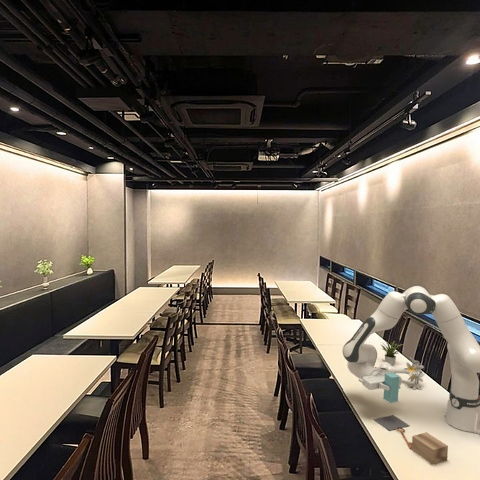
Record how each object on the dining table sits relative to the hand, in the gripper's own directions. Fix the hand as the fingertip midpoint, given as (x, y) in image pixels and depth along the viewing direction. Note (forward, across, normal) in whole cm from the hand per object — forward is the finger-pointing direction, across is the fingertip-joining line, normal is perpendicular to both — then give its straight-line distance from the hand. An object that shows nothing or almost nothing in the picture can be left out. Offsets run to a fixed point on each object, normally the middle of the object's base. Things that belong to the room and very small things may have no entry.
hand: (394, 388), depth 172 cm
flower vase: (-34, +40, +17) cm, 55 cm away
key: (+12, -3, +17) cm, 21 cm away
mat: (-1, 0, +17) cm, 17 cm away
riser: (+23, -4, +17) cm, 29 cm away
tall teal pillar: (-2, 0, +7) cm, 7 cm away
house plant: (-57, +56, +17) cm, 82 cm away
